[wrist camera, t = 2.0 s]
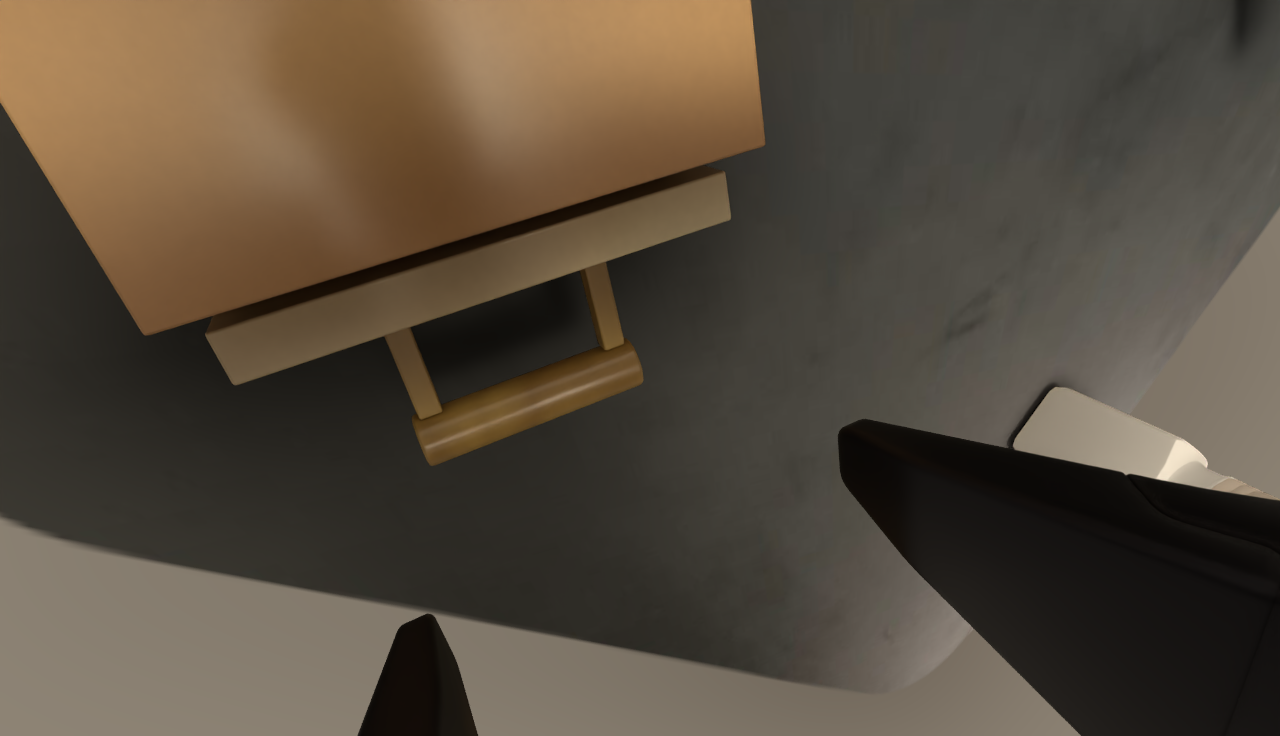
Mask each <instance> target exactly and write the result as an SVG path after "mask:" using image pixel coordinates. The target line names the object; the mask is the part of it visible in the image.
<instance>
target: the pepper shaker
mask: <svg viewBox="0 0 1280 736" xmlns="http://www.w3.org/2000/svg"><path fill="white" fill-rule="evenodd" d="M1013 447H1014V449H1015V450H1018V451H1023V452H1028V453H1033V454H1038V455H1043V456H1047V457H1052V458H1057V459H1062V460H1067V461H1072V462H1076V463H1081V464H1086V465H1091V466H1096V467H1101V468H1106V469H1110V470H1115V471H1120V472H1123V473H1124V474H1125V475H1127V474H1135V475H1140V476H1145V477H1150V478H1154V479H1159V480H1164V481H1169V482H1174V483H1180V484H1185V485H1190V486H1195V487H1201V488H1206V489H1211V490H1217V491H1223V492H1230V493H1236V494H1242V495H1248V496H1254V497H1260V498H1267V499H1273V500H1280V499H1278V498H1276V497H1274V496H1272V495H1270V494H1267V493H1265V492H1262V491H1261V490H1259V489H1257V488H1254V487H1251V486H1249V485H1248V484H1246V483H1244V482H1241V481H1239V480H1237V479H1235V478H1233V477H1231V476H1229V477H1228V476H1227V477H1225V476H1223V475H1221V474H1219V473H1216V472H1214V471H1212V470H1210V469H1208V468H1207V465H1208V463H1207V460H1206V458H1205V457H1204V456H1203V455H1202V454H1201V453H1200V452H1199V451H1198V450H1196V449H1195V448H1194V447H1193V446H1192V445H1190V444H1189V443H1188V442H1186V441H1185V440H1184V439H1182V438H1180V437H1178V436H1175V435H1173V434H1171V433H1169V432H1166V431H1164V430H1162V429H1160V428H1157V427H1155V426H1153V425H1150V424H1148V423H1146V422H1144V421H1142V420H1139V419H1137V418H1135V417H1132V416H1130V415H1128V414H1126V413H1124V412H1121V411H1119V410H1117V409H1115V408H1112V407H1110V406H1108V405H1106V404H1103V403H1101V402H1099V401H1097V400H1094V399H1092V398H1090V397H1088V396H1085V395H1083V394H1081V393H1079V392H1076V391H1074V390H1072V389H1070V388H1061V387H1055V388H1053V389H1052V390H1051V391H1049V393H1048V394H1047V395H1046V397H1045V398H1044V399H1043V401H1042V402H1041V404H1040V405H1039V406H1038V408H1037V409H1036V410H1035V412H1034V413H1033V415H1032V416H1031V417H1030V419H1029V420H1028V421H1027V423H1026V424H1025V426H1024V427H1023V428H1022V430H1021V431H1020V433H1019V434H1018V435H1017V437H1016V438H1015V440H1014V444H1013Z"/></svg>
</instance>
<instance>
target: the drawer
mask: <svg viewBox="0 0 1280 736" xmlns="http://www.w3.org/2000/svg"><path fill="white" fill-rule="evenodd" d="M730 219H731V212H730V205H729V197H728V190H727V182H726V175H725V172H724V171H721V170H718V169H714V168H711V167H707V166H704V165H701V166H698V167H695V168H692V169H688V170H685V171H682V172H679V173H675V174H672V175H669V176H666V177H662V178H659V179H656V180H653V181H649V182H646V183H643V184H640V185H636V186H633V187H630V188H627V189H623V190H620V191H617V192H614V193H610V194H607V195H604V196H601V197H597V198H594V199H591V200H588V201H584V202H581V203H578V204H575V205H571V206H568V207H565V208H562V209H558V210H555V211H552V212H549V213H545V214H542V215H539V216H536V217H532V218H529V219H526V220H523V221H519V222H516V223H513V224H510V225H506V226H503V227H500V228H497V229H493V230H490V231H487V232H484V233H480V234H477V235H474V236H471V237H467V238H464V239H461V240H458V241H454V242H451V243H448V244H445V245H441V246H438V247H435V248H432V249H428V250H425V251H422V252H419V253H415V254H412V255H409V256H406V257H402V258H399V259H396V260H392V261H389V262H386V263H383V264H379V265H376V266H373V267H370V268H366V269H363V270H360V271H357V272H353V273H350V274H347V275H344V276H340V277H337V278H334V279H331V280H327V281H324V282H321V283H318V284H314V285H311V286H308V287H305V288H301V289H298V290H295V291H292V292H288V293H285V294H282V295H279V296H275V297H272V298H269V299H266V300H262V301H259V302H256V303H253V304H249V305H246V306H243V307H240V308H236V309H233V310H230V311H227V312H223V313H220V314H217V315H214V316H213V317H212V320H211V322H210V324H209V326H208V329H207V331H206V333H205V336H206V338H207V340H208V342H209V343H210V345H211V347H212V349H213V351H214V352H215V354H216V356H217V358H218V359H219V361H220V363H221V365H222V366H223V368H224V370H225V372H226V373H227V375H228V377H229V379H230V381H231V382H232V384H234V385H239V384H242V383H245V382H248V381H251V380H254V379H257V378H260V377H263V376H266V375H269V374H272V373H275V372H278V371H281V370H284V369H287V368H290V367H293V366H296V365H299V364H302V363H305V362H308V361H311V360H314V359H317V358H320V357H323V356H326V355H329V354H332V353H335V352H338V351H341V350H344V349H346V348H349V347H352V346H355V345H358V344H361V343H364V342H367V341H370V340H373V339H376V338H379V337H382V336H384V337H385V339H386V342H387V344H388V346H389V349H390V351H391V353H392V356H393V358H394V360H395V363H396V365H397V367H398V370H399V372H400V375H401V377H402V379H403V382H404V384H405V386H406V389H407V391H408V393H409V396H410V398H411V401H412V403H413V405H414V408H415V410H416V412H417V414H414V415H413V416H412V423H413V427H414V430H415V433H416V436H417V438H418V441H419V444H420V446H421V449H422V451H423V453H424V456H425V458H426V460H427V462H428V463H429V464H430V465H431V466H435V465H437V464H440V463H442V462H445V461H447V460H450V459H452V458H455V457H458V456H460V455H463V454H465V453H468V452H470V451H473V450H475V449H478V448H481V447H483V446H486V445H488V444H491V443H493V442H496V441H498V440H501V439H503V438H506V437H509V436H511V435H514V434H516V433H519V432H521V431H524V430H526V429H529V428H532V427H534V426H537V425H539V424H542V423H544V422H547V421H549V420H552V419H554V418H557V417H560V416H562V415H565V414H567V413H570V412H572V411H575V410H577V409H580V408H583V407H585V406H588V405H590V404H593V403H595V402H598V401H600V400H603V399H606V398H608V397H611V396H613V395H616V394H618V393H621V392H623V391H626V390H628V389H631V388H634V387H636V386H639V385H640V384H641V383H642V382H643V371H642V367H641V363H640V360H639V358H638V355H637V353H636V351H635V349H634V347H633V346H632V344H631V343H630V342H629V340H628V339H626V338H623V334H622V330H621V325H620V321H619V317H618V312H617V308H616V304H615V299H614V295H613V291H612V286H611V282H610V278H609V274H608V269H607V265H606V261H609V260H612V259H615V258H618V257H621V256H624V255H627V254H630V253H633V252H636V251H639V250H642V249H645V248H648V247H651V246H654V245H657V244H660V243H663V242H666V241H669V240H672V239H675V238H678V237H681V236H684V235H687V234H690V233H693V232H696V231H699V230H701V229H704V228H707V227H710V226H713V225H716V224H719V223H722V222H725V221H728V220H730ZM579 270H580V274H581V277H582V281H583V285H584V289H585V293H586V297H587V301H588V305H589V309H590V313H591V317H592V321H593V325H594V329H595V333H596V337H597V341H598V343H599V345H600V346H598V347H596V348H593V349H590V350H588V351H585V352H582V353H580V354H577V355H574V356H571V357H569V358H566V359H563V360H561V361H558V362H555V363H552V364H550V365H547V366H544V367H542V368H539V369H536V370H533V371H531V372H528V373H525V374H523V375H520V376H517V377H515V378H512V379H509V380H506V381H504V382H501V383H498V384H496V385H493V386H490V387H487V388H485V389H482V390H479V391H477V392H474V393H471V394H468V395H466V396H463V397H460V398H458V399H455V400H452V401H450V402H447V403H444V404H441V403H440V400H439V398H438V395H437V393H436V390H435V388H434V385H433V383H432V380H431V378H430V375H429V373H428V370H427V368H426V365H425V363H424V360H423V358H422V355H421V353H420V350H419V348H418V345H417V343H416V340H415V338H414V335H413V333H412V330H411V328H410V327H412V326H415V325H418V324H421V323H424V322H427V321H430V320H433V319H436V318H439V317H442V316H445V315H448V314H451V313H454V312H457V311H460V310H463V309H466V308H469V307H472V306H475V305H478V304H481V303H484V302H487V301H490V300H493V299H496V298H499V297H502V296H505V295H508V294H511V293H514V292H517V291H520V290H522V289H525V288H528V287H531V286H534V285H537V284H540V283H543V282H546V281H549V280H552V279H555V278H558V277H561V276H564V275H567V274H570V273H573V272H576V271H579Z"/></svg>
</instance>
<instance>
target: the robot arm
mask: <svg viewBox="0 0 1280 736" xmlns="http://www.w3.org/2000/svg"><path fill="white" fill-rule="evenodd" d="M838 447H839V463H840V473H841V477H842V480H843V482H844V484H845V485H846V487H847V488H848V490H849V491H850V492H851V493H852V495H853V496H854V497H855V498H856V499H857V501H858V502H859V503H860V504H861V506H862V507H863V508H864V509H865V511H866V512H867V513H868V514H869V515H870V517H871V518H872V519H873V520H874V522H875V523H876V524H877V525H878V527H879V528H880V529H881V530H882V531H883V533H884V534H885V535H886V536H887V538H888V539H889V540H890V541H891V543H892V544H893V545H894V546H895V547H896V549H897V550H898V551H899V552H900V553H901V555H902V556H903V557H904V558H905V559H906V560H907V562H908V563H909V564H910V565H911V566H912V567H913V568H914V569H915V570H916V571H917V572H918V573H919V574H920V575H921V576H922V577H923V578H924V579H925V580H926V581H927V582H928V583H929V584H930V585H931V586H932V587H933V588H934V589H935V590H936V591H937V592H938V593H939V594H940V595H941V596H942V597H943V598H944V599H945V600H946V601H947V602H948V603H949V604H950V605H951V606H952V607H953V608H954V609H955V610H956V611H957V612H958V613H959V614H960V615H961V616H962V617H963V618H964V619H965V620H966V621H967V622H968V623H969V624H970V625H971V626H972V627H973V628H974V629H975V630H976V631H977V632H978V633H979V634H980V635H981V636H982V637H983V638H984V639H985V640H986V641H987V642H988V643H989V644H990V645H991V646H992V647H993V648H994V649H995V650H996V651H997V652H998V653H999V654H1000V655H1001V656H1002V657H1003V658H1004V659H1005V660H1006V661H1007V662H1008V663H1009V664H1010V665H1011V666H1012V667H1013V668H1014V669H1015V670H1016V671H1017V672H1018V673H1019V674H1020V675H1021V676H1022V677H1023V678H1024V679H1025V680H1026V681H1027V682H1028V683H1029V684H1030V685H1031V686H1032V687H1033V688H1034V689H1035V690H1036V691H1037V692H1038V693H1039V694H1040V695H1041V696H1042V697H1043V698H1044V699H1045V700H1046V701H1047V702H1048V703H1049V704H1050V705H1051V706H1052V707H1053V708H1054V709H1055V710H1056V711H1057V712H1058V713H1059V714H1060V715H1061V716H1062V717H1063V718H1064V719H1065V720H1066V721H1067V722H1068V723H1069V724H1070V725H1071V726H1072V727H1073V728H1074V729H1075V730H1076V731H1077V732H1078V733H1079V734H1080V735H1081V736H1280V500H1273V499H1267V498H1260V497H1254V496H1248V495H1242V494H1236V493H1230V492H1223V491H1217V490H1211V489H1206V488H1201V487H1195V486H1190V485H1185V484H1180V483H1174V482H1169V481H1164V480H1159V479H1154V478H1150V477H1145V476H1140V475H1135V474H1127V475H1125V474H1124V473H1123V472H1120V471H1115V470H1110V469H1106V468H1101V467H1096V466H1091V465H1086V464H1081V463H1076V462H1072V461H1067V460H1062V459H1057V458H1052V457H1047V456H1043V455H1038V454H1033V453H1028V452H1023V451H1018V450H1013V449H1009V448H1004V447H999V446H994V445H989V444H984V443H980V442H975V441H970V440H965V439H960V438H955V437H950V436H946V435H941V434H936V433H931V432H926V431H921V430H917V429H912V428H907V427H902V426H897V425H892V424H887V423H883V422H878V421H873V420H868V419H862V420H858V421H856V422H854V423H852V424H849V425H847V426H845V427H843V428H842V429H841V430H840V431H839V434H838ZM358 736H478V734H477V730H476V727H475V724H474V720H473V716H472V713H471V709H470V706H469V703H468V699H467V695H466V692H465V688H464V685H463V681H462V678H461V674H460V671H459V668H458V665H457V662H456V659H455V657H454V655H453V653H452V651H451V649H450V647H449V644H448V642H447V641H446V638H445V636H444V635H443V632H442V630H441V628H440V626H439V624H438V623H437V621H436V618H435V617H434V616H433V615H432V614H425V615H423V616H421V617H418V618H416V619H414V620H412V621H409V622H407V623H405V624H404V625H402V626H401V627H400V628H399V629H398V631H397V633H396V636H395V639H394V641H393V644H392V647H391V649H390V652H389V654H388V657H387V660H386V662H385V665H384V667H383V670H382V673H381V675H380V678H379V681H378V684H377V686H376V689H375V691H374V694H373V696H372V699H371V702H370V705H369V707H368V710H367V712H366V715H365V717H364V720H363V723H362V726H361V728H360V731H359V733H358Z"/></svg>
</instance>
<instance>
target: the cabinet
mask: <svg viewBox="0 0 1280 736" xmlns="http://www.w3.org/2000/svg"><path fill="white" fill-rule="evenodd" d="M0 103H1V104H2V106H3V108H4V109H5V111H6V112H7V114H8V116H9V117H10V119H11V121H12V122H13V124H14V125H15V127H16V129H17V130H18V132H19V134H20V135H21V137H22V138H23V140H24V142H25V143H26V145H27V147H28V148H29V150H30V151H31V153H32V155H33V156H34V158H35V160H36V161H37V163H38V164H39V166H40V168H41V169H42V171H43V173H44V174H45V176H46V177H47V179H48V181H49V182H50V184H51V186H52V187H53V189H54V190H55V192H56V194H57V195H58V197H59V199H60V200H61V202H62V203H63V205H64V207H65V208H66V210H67V212H68V213H69V215H70V216H71V218H72V220H73V221H74V223H75V225H76V226H77V228H78V229H79V231H80V233H81V234H82V236H83V238H84V239H85V241H86V242H87V244H88V246H89V247H90V249H91V251H92V252H93V254H94V255H95V257H96V259H97V260H98V262H99V264H100V265H101V267H102V268H103V270H104V272H105V273H106V275H107V277H108V278H109V280H110V281H111V283H112V285H113V286H114V288H115V290H116V291H117V293H118V294H119V296H120V298H121V299H122V301H123V303H124V304H125V306H126V307H127V309H128V311H129V312H130V314H131V316H132V317H133V319H134V320H135V322H136V324H137V325H138V327H139V329H140V330H141V332H142V333H143V334H144V335H152V334H155V333H158V332H162V331H165V330H168V329H171V328H175V327H178V326H181V325H184V324H188V323H191V322H194V321H197V320H201V319H204V318H207V317H210V316H214V315H217V314H220V313H223V312H227V311H230V310H233V309H236V308H240V307H243V306H246V305H249V304H253V303H256V302H259V301H262V300H266V299H269V298H272V297H275V296H279V295H282V294H285V293H288V292H292V291H295V290H298V289H301V288H305V287H308V286H311V285H314V284H318V283H321V282H324V281H327V280H331V279H334V278H337V277H340V276H344V275H347V274H350V273H353V272H357V271H360V270H363V269H366V268H370V267H373V266H376V265H379V264H383V263H386V262H389V261H392V260H396V259H399V258H402V257H406V256H409V255H412V254H415V253H419V252H422V251H425V250H428V249H432V248H435V247H438V246H441V245H445V244H448V243H451V242H454V241H458V240H461V239H464V238H467V237H471V236H474V235H477V234H480V233H484V232H487V231H490V230H493V229H497V228H500V227H503V226H506V225H510V224H513V223H516V222H519V221H523V220H526V219H529V218H532V217H536V216H539V215H542V214H545V213H549V212H552V211H555V210H558V209H562V208H565V207H568V206H571V205H575V204H578V203H581V202H584V201H588V200H591V199H594V198H597V197H601V196H604V195H607V194H610V193H614V192H617V191H620V190H623V189H627V188H630V187H633V186H636V185H640V184H643V183H646V182H649V181H653V180H656V179H659V178H662V177H666V176H669V175H672V174H675V173H679V172H682V171H685V170H688V169H692V168H695V167H698V166H701V165H705V164H708V163H711V162H714V161H718V160H721V159H724V158H727V157H731V156H734V155H737V154H740V153H744V152H747V151H750V150H753V149H757V148H760V147H763V146H764V145H765V135H764V126H763V116H762V106H761V96H760V87H759V77H758V67H757V57H756V48H755V38H754V28H753V18H752V9H751V0H0Z"/></svg>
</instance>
